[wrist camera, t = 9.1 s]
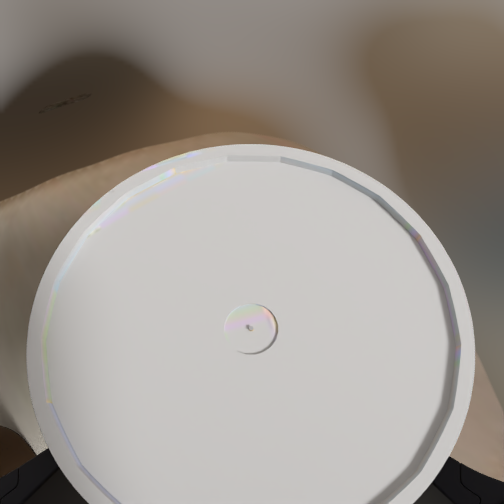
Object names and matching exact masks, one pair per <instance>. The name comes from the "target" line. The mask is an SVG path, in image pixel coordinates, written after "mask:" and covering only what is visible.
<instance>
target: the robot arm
mask: <svg viewBox="0 0 504 504" xmlns="http://www.w3.org/2000/svg"><path fill="white" fill-rule="evenodd" d="M0 504H89V503H88V502H87V501H86V500H85V499H84V498H83V497H82V496H81V495H80V494H79V492H78V491H77V490H76V489H75V488H74V487H73V485H72V484H71V483H70V481H69V480H68V479H67V477H66V476H65V475H64V473H63V472H62V470H61V469H60V467H59V466H58V464H57V462H56V461H55V459H54V457H53V455H52V454H51V452H50V450H49V448H48V449H46V450H45V451H43V452H41V453H40V454H38V455H37V456H35V457H34V458H32V459H31V460H29V461H27V462H26V463H24V464H23V465H21V466H20V467H18V468H16V469H15V470H13V471H11V472H10V473H8V474H6V475H4V476H3V477H0ZM413 504H504V482H502V481H499V480H496V479H494V478H491V477H488V476H486V475H484V474H481V473H479V472H477V471H475V470H473V469H471V468H469V467H467V466H465V465H464V464H462V463H459V462H458V461H456V460H455V459H453V458H451V457H450V456H449V457H448V459H447V460H446V462H445V464H444V465H443V467H442V468H441V470H440V471H439V473H438V474H437V476H436V477H435V479H434V480H433V481H432V483H431V484H430V485H429V486H428V488H427V489H426V490H425V491H424V492H423V493H422V495H421V496H420V497H419V498H418V499H417V500H416V501H415V502H414V503H413Z"/></svg>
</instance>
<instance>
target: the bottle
mask: <svg viewBox="0 0 504 504" xmlns="http://www.w3.org/2000/svg"><path fill="white" fill-rule="evenodd" d="M26 357H27V376H28V384H29V391H30V396H31V400H32V405H33V409H34V412H35V416H36V419H37V422H38V425H39V427H40V430H41V432H42V435H43V437H44V439H45V442H46V444H47V446H48V448H49V450H50V452H51V454H52V455H53V457H54V459H55V461H56V462H57V464H58V466H59V467H60V469H61V470H62V472H63V473H64V475H65V476H66V477H67V479H68V480H69V481H70V483H71V484H72V485H73V487H74V488H75V489H76V490H77V491H78V492H79V494H80V495H81V496H82V497H83V498H84V499H85V500H86V501H87V502H88V503H89V504H413V503H414V502H415V501H416V500H417V499H418V498H419V497H420V496H421V495H422V493H423V492H424V491H425V490H426V489H427V488H428V486H429V485H430V484H431V483H432V481H433V480H434V479H435V477H436V476H437V474H438V473H439V471H440V470H441V468H442V467H443V465H444V464H445V462H446V460H447V459H448V457H449V455H450V453H451V451H452V449H453V447H454V445H455V443H456V441H457V439H458V437H459V434H460V432H461V429H462V426H463V424H464V421H465V418H466V414H467V411H468V407H469V403H470V399H471V394H472V388H473V381H474V371H475V341H474V331H473V324H472V319H471V314H470V309H469V305H468V302H467V298H466V295H465V292H464V289H463V286H462V284H461V281H460V278H459V276H458V274H457V272H456V270H455V267H454V265H453V263H452V262H451V260H450V258H449V256H448V254H447V253H446V251H445V249H444V248H443V246H442V245H441V243H440V242H439V240H438V239H437V237H436V236H435V235H434V233H433V232H432V231H431V229H430V228H429V227H428V226H427V224H426V223H425V222H424V221H423V220H422V219H421V218H420V216H419V215H418V214H417V213H416V212H415V211H414V210H413V209H412V208H411V207H409V205H407V204H406V203H405V202H404V201H403V200H402V199H401V198H399V197H398V196H397V195H396V194H395V193H393V192H392V191H391V190H389V189H388V188H387V187H385V186H384V185H382V184H381V183H379V182H378V181H376V180H374V179H373V178H371V177H370V176H368V175H366V174H364V173H362V172H361V171H359V170H357V169H355V168H353V167H350V166H349V165H346V164H344V163H342V162H339V161H337V160H334V159H331V158H329V157H326V156H323V155H320V154H316V153H313V152H309V151H305V150H300V149H295V148H290V147H283V146H275V145H262V144H240V145H226V146H218V147H211V148H206V149H201V150H196V151H192V152H188V153H185V154H181V155H178V156H175V157H172V158H169V159H167V160H164V161H162V162H159V163H157V164H154V165H152V166H150V167H148V168H146V169H144V170H142V171H140V172H138V173H136V174H135V175H133V176H131V177H130V178H128V179H126V180H125V181H123V182H122V183H120V184H119V185H117V186H116V187H114V188H113V189H112V190H110V191H109V192H108V193H106V194H105V195H104V196H103V197H101V198H100V199H99V200H98V201H97V202H96V203H95V204H94V205H92V206H91V207H90V208H89V209H88V210H87V211H86V212H85V213H84V214H83V216H82V217H81V218H80V219H79V220H78V221H77V222H76V223H75V225H74V226H73V227H72V228H71V229H70V231H69V232H68V233H67V235H66V236H65V237H64V239H63V240H62V242H61V243H60V245H59V246H58V248H57V250H56V251H55V253H54V255H53V256H52V258H51V260H50V262H49V264H48V266H47V268H46V270H45V272H44V274H43V277H42V279H41V282H40V284H39V287H38V290H37V293H36V296H35V299H34V303H33V307H32V311H31V316H30V321H29V327H28V336H27V352H26Z"/></svg>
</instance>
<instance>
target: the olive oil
mask: <svg viewBox="0 0 504 504" xmlns="http://www.w3.org/2000/svg"><path fill="white" fill-rule="evenodd" d="M35 456H36V455H35V454H34V452H33V451H32V449H31V448H30V447H29V445H28V444H27V443H26V442H25V441H24V440H23V439H22V438H21V437H20V436H19V435H18V434H17V433H15V432H14V431H12V430H11V429H8V428H6V427H2V426H0V477H3V476H4V475H6V474H8V473H10V472H11V471H13V470H15V469H16V468H18V467H20V466H21V465H23V464H24V463H26V462H27V461H29V460H31V459H32V458H34V457H35Z"/></svg>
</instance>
